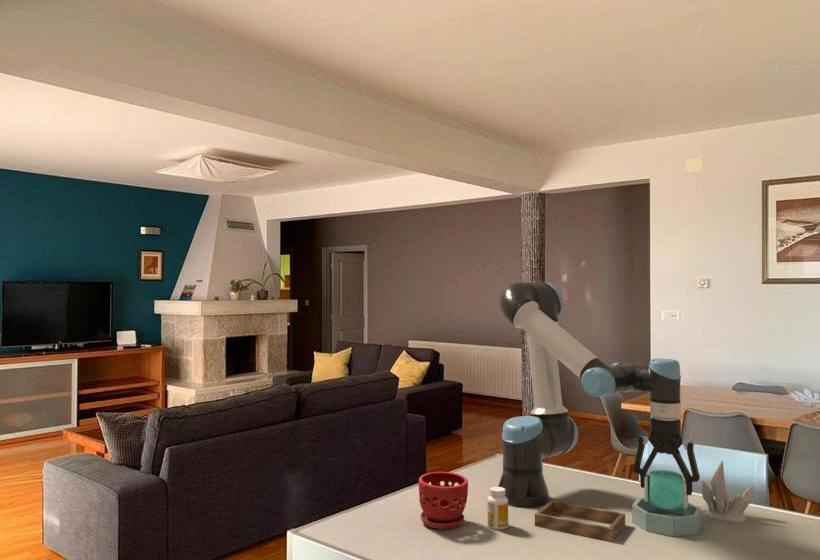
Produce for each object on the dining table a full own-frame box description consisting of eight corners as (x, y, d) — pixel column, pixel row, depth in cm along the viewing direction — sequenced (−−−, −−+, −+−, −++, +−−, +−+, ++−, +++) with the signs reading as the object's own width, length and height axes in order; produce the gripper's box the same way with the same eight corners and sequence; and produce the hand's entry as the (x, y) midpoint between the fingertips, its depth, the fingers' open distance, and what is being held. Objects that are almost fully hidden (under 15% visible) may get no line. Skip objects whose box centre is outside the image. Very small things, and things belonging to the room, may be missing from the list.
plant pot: (411, 529, 163) (411, 482, 163) (428, 512, 175) (427, 469, 176) (460, 535, 159) (460, 487, 159) (473, 518, 171) (473, 473, 171)
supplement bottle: (510, 523, 167) (509, 486, 167) (506, 531, 162) (506, 492, 162) (489, 521, 168) (489, 484, 169) (485, 528, 163) (485, 490, 164)
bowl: (627, 527, 164) (627, 510, 164) (641, 509, 177) (641, 493, 177) (694, 540, 155) (694, 522, 155) (704, 520, 169) (703, 503, 169)
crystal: (761, 523, 167) (760, 466, 167) (707, 520, 169) (707, 464, 169) (747, 510, 176) (747, 456, 177) (697, 508, 179) (697, 454, 179)
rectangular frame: (534, 525, 165) (534, 513, 165) (552, 510, 176) (551, 500, 176) (612, 541, 155) (611, 529, 155) (625, 525, 166) (625, 513, 166)
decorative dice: (683, 511, 161) (683, 480, 161) (650, 507, 164) (649, 476, 164) (681, 501, 169) (681, 471, 169) (649, 498, 171) (649, 468, 171)
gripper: (620, 415, 169) (620, 500, 169) (708, 424, 158) (709, 515, 157) (626, 411, 176) (627, 492, 175) (712, 419, 164) (713, 506, 164)
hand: (666, 503), depth 166 cm, fingers closed on decorative dice, 9 cm apart
